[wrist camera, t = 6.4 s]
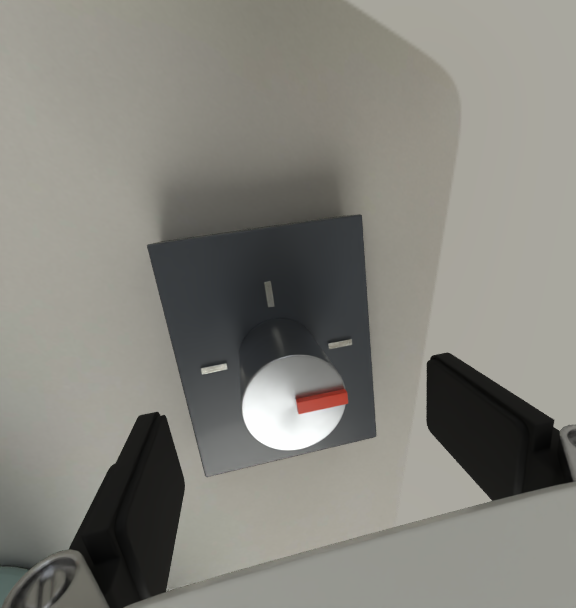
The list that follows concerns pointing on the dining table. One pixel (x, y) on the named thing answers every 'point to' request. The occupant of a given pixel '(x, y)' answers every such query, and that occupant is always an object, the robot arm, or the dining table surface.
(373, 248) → the dining table surface
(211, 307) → the panel
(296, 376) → the dial
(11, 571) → the cup
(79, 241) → the dining table surface
